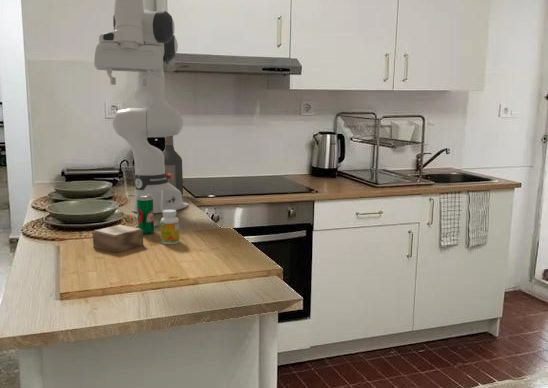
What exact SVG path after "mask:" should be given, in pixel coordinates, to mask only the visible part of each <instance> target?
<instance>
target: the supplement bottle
mask: <svg viewBox="0 0 548 388" xmlns="http://www.w3.org/2000/svg"><path fill="white" fill-rule="evenodd" d="M162 216H163V217H162V218H161V219H160V240H161V244H164V245H176V244H178V243H180V219H179V218H178V217H177V210H172V209H169V210H163V213H162Z"/></svg>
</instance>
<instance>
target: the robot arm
mask: <svg viewBox="0 0 548 388" xmlns="http://www.w3.org/2000/svg"><path fill="white" fill-rule="evenodd" d="M113 9H114V10H113V11H114V12H113V13H114V14H113V16H112V19H113V20H112V22H113V31H108V32H105V33H100V34H99V36H98V44H97V45H96V48H95V52H94V67H95V69H96V70H97V71H106V74H107V76H108V78H109V79H110V81H109V82H110V85H116V84H117V83H116V82H117V80H116V77H114V76H113V75H112V73H113V72H114V71H115V72H117V71H119V72H134V73H135V72H136V78H135V79H136V80H135V90H134V97H135V100H136V103H138V105H140V106H141V107H128V108H123V109H119V110H117V111H116V112H115V113H114V115H113V116H112V127H113V129H114V131H115V133H116V134H117V135H118V136H120V137H121V138H122V139H124V140H125V142H126V143H127V144H128V145H129V147H130V148H131V151H132V154H133V162H134V172H135V173H134V175H133V178H134V179H133V181H134V187H135V189H134V199H133V206H132V209H131V211H132V212H134V213H137V199H138V196H140V195H151V196H152V198H153V209H154V214H163V210H169V209H172V210H176V211H178V210H181V209H186V208H188V207H189V203H187V202H185V201H183V195H182V194H181V192H180V191H179V190H178V189H177V188H175V187H174V186H173V185H171V184H170V183H169V181H168V179H169V178H170V179H172V178H173V176H172V174H169V173H168V174H166V173H165V164H164V154H163V152H164V151H162V150H161V149H160V148H158V147H156V146H154V145H151V144H150V143H149V141H148V138H165V137H169V136H173V137H175V136H178V135H179V134H180V133H181V132H182V130H183V126H184V119H183V116H182V114H181V113H180V112H179V110H177V109H176V108H174V107H173V106H171V105H170V104H169V103H168V102H167V100H166V94H165V87H166V85H165V84H166V82H165V80H166V79H165V72H164V63H165V65H168V64H169V62H171V61H172V60H173V59H175V58H176V55H177V52H178V47H179V46H178V45H179V44H178V40H177V38H176V36H175V30H176V29H175V28H176V27H175V22H174V19H173V16H172V15H171V14H170V13H169V12H168V11H166V10H158V11H151V10H149V9H146V8H144V0H114V8H113Z"/></svg>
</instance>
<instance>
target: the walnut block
mask: <svg viewBox="0 0 548 388" xmlns="http://www.w3.org/2000/svg"><path fill="white" fill-rule="evenodd" d="M92 244H93V248H94V247H96V248H95V249H98V248H99V250H103V251H106V252H110V251H111V253H114V252H115V254H117V252H118V253H120V251H121V252H124V250H125V251H128V250H131V249H130V248H132V249H134V247H135V248H138V247H137V246H139V247H141V246H140V245H143V246H144V234H143V230H141V229H139V228H138V227H134V226H129V225H123V224H117V225H113V226H108V227H105V228H104V227H103V228H99V229H95V230H94V231H92ZM127 249H128V250H127Z"/></svg>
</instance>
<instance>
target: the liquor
mask: <svg viewBox="0 0 548 388" xmlns="http://www.w3.org/2000/svg"><path fill="white" fill-rule="evenodd" d="M164 140H165V141H164V142H165V143H164V145H165V146H164V150H163V151H162V152H163V154H164V164H165V173H166V174H168V173H169V174H172V176H173V178H172V179H170V178H169V179H168V181H169V183H170V184H171V185H173V186H174V187H175V188H177V189H178V190H179V191H180V192H181V194H182V196H183V195H184V185H183V183H184V182H183V181H184V180H183V179H184V178H183V159H182V157H181V155H180V154H179V153H178V152H177V151H176V150H175V147H174V146H175V145H174V136H169V137H164Z"/></svg>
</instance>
